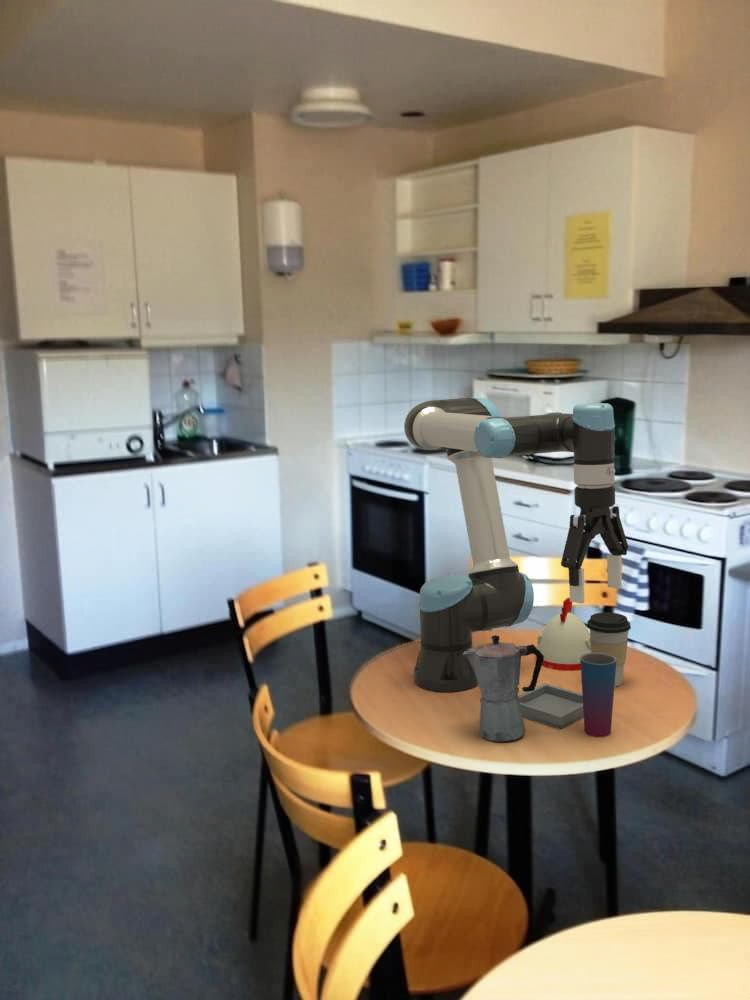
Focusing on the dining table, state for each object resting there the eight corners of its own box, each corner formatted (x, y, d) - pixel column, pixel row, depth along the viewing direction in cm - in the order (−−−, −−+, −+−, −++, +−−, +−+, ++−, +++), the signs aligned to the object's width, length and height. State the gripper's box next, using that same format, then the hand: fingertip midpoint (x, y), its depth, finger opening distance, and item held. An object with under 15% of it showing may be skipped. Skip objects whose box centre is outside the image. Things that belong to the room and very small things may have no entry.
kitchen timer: (601, 654, 226) (602, 594, 223) (588, 674, 214) (589, 610, 211) (545, 648, 232) (544, 589, 229) (529, 666, 219) (529, 605, 217)
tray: (508, 712, 194) (508, 700, 193) (545, 693, 203) (545, 683, 202) (561, 729, 184) (561, 717, 184) (597, 709, 193) (597, 698, 193)
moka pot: (463, 723, 189) (461, 628, 185) (539, 722, 188) (539, 627, 184) (466, 744, 179) (464, 644, 176) (546, 743, 179) (546, 642, 175)
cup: (586, 721, 188) (586, 650, 185) (619, 728, 184) (621, 655, 181) (575, 734, 182) (575, 661, 179) (609, 741, 178) (610, 666, 176)
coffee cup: (631, 691, 202) (632, 625, 200) (586, 689, 204) (587, 623, 202) (628, 675, 212) (629, 611, 209) (585, 673, 213) (586, 610, 211)
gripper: (575, 495, 166) (577, 611, 169) (645, 478, 183) (646, 584, 186) (540, 492, 171) (543, 605, 174) (611, 477, 188) (612, 579, 191)
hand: (596, 594), depth 180 cm, fingers open, 13 cm apart
